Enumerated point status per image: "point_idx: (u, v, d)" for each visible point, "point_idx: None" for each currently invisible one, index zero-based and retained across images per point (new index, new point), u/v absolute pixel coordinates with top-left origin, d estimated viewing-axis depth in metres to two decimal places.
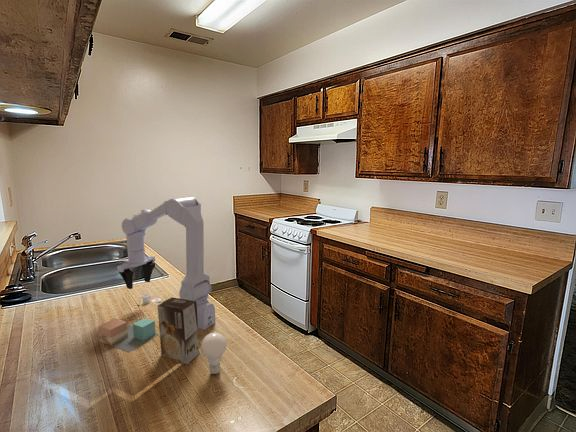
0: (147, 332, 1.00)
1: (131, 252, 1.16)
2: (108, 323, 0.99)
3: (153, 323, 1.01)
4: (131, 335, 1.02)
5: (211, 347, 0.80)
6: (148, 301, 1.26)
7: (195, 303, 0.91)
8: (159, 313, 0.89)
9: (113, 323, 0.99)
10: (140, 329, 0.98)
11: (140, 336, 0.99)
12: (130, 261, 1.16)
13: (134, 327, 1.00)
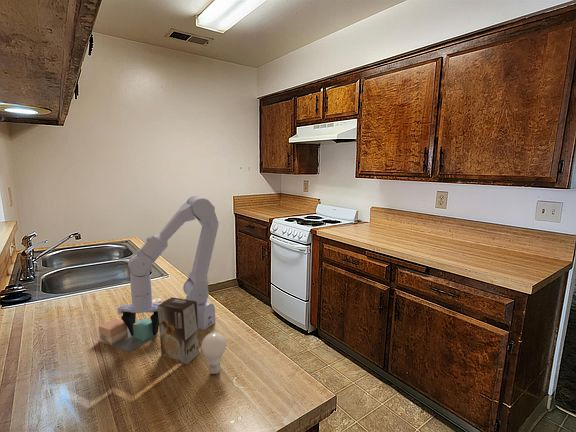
0: (147, 332, 1.00)
1: None
2: (108, 323, 0.99)
3: None
4: None
5: (211, 347, 0.80)
6: None
7: (195, 303, 0.91)
8: (159, 313, 0.89)
9: (113, 323, 0.99)
10: (140, 329, 0.98)
11: (140, 336, 0.99)
12: None
13: (134, 327, 1.00)
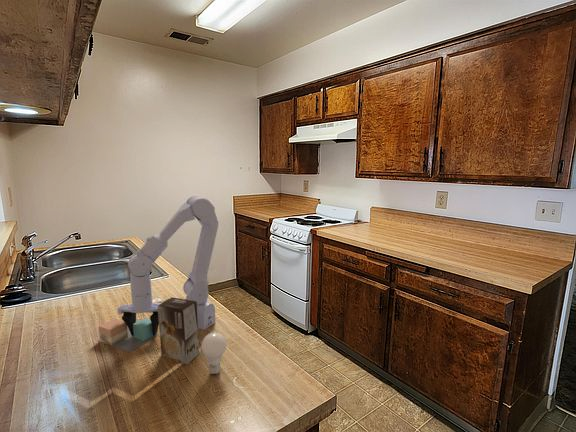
0: (147, 332, 1.00)
1: None
2: (108, 323, 0.99)
3: None
4: (131, 335, 1.02)
5: (211, 347, 0.80)
6: None
7: (195, 303, 0.91)
8: (159, 313, 0.89)
9: (113, 323, 0.99)
10: (140, 329, 0.98)
11: (140, 336, 0.99)
12: None
13: (134, 327, 1.00)
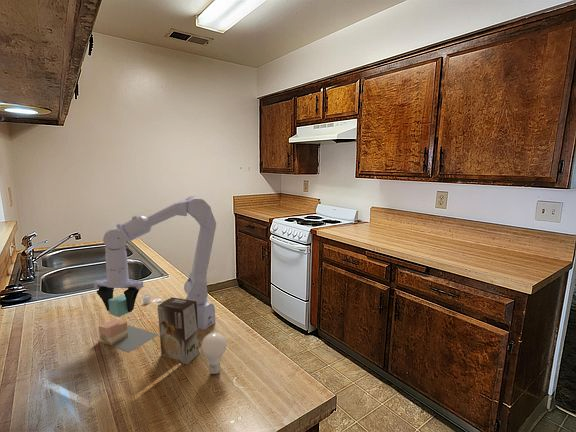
0: (122, 309, 0.97)
1: None
2: (108, 323, 0.99)
3: None
4: (131, 335, 1.02)
5: (211, 347, 0.80)
6: (148, 301, 1.26)
7: (195, 303, 0.91)
8: (159, 313, 0.89)
9: (113, 323, 0.99)
10: (115, 305, 0.96)
11: (115, 312, 0.96)
12: None
13: (109, 303, 0.97)
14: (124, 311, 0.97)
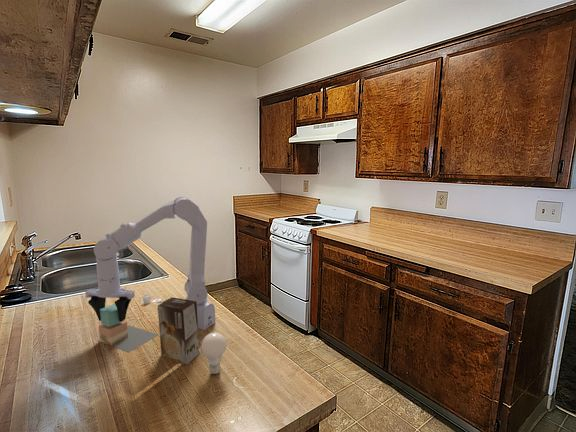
0: (114, 319, 0.97)
1: None
2: None
3: None
4: (131, 335, 1.02)
5: (211, 347, 0.80)
6: (148, 301, 1.26)
7: (195, 303, 0.91)
8: (159, 313, 0.89)
9: None
10: (106, 315, 0.96)
11: (106, 322, 0.96)
12: None
13: (101, 312, 0.97)
14: (115, 321, 0.97)
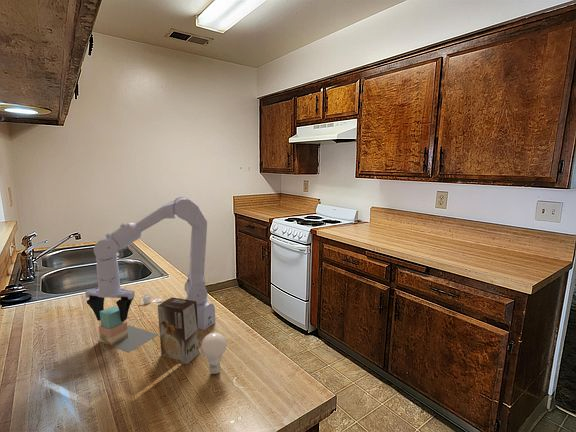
0: (114, 320, 0.97)
1: None
2: None
3: None
4: (131, 335, 1.02)
5: (211, 347, 0.80)
6: (148, 301, 1.26)
7: (195, 303, 0.91)
8: (159, 313, 0.89)
9: None
10: (106, 317, 0.96)
11: (106, 324, 0.96)
12: None
13: (101, 314, 0.97)
14: (115, 323, 0.97)
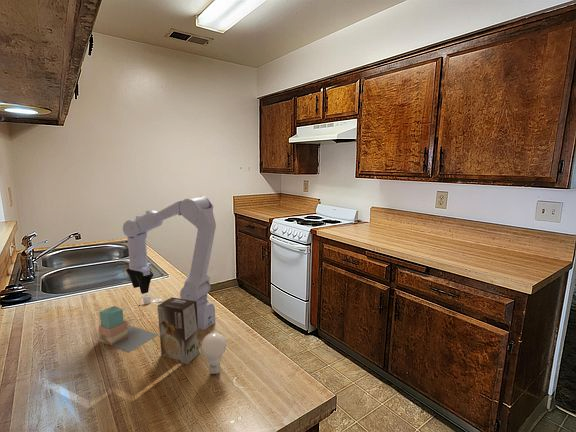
0: (114, 320, 0.97)
1: None
2: None
3: (121, 311, 0.98)
4: (131, 335, 1.02)
5: (211, 347, 0.80)
6: (149, 301, 1.26)
7: (195, 303, 0.91)
8: (159, 313, 0.89)
9: None
10: (106, 317, 0.96)
11: (106, 324, 0.96)
12: None
13: (101, 314, 0.97)
14: (115, 323, 0.97)
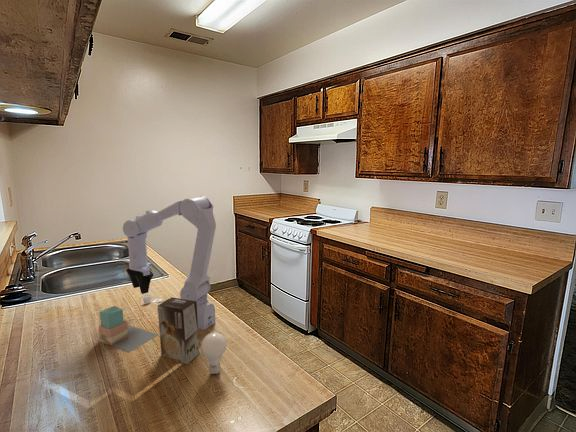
0: (114, 320, 0.97)
1: None
2: None
3: (121, 311, 0.98)
4: (131, 335, 1.02)
5: (211, 347, 0.80)
6: (149, 301, 1.26)
7: (195, 303, 0.91)
8: (159, 313, 0.89)
9: None
10: (106, 317, 0.96)
11: (106, 324, 0.96)
12: None
13: (101, 314, 0.97)
14: (115, 323, 0.97)
